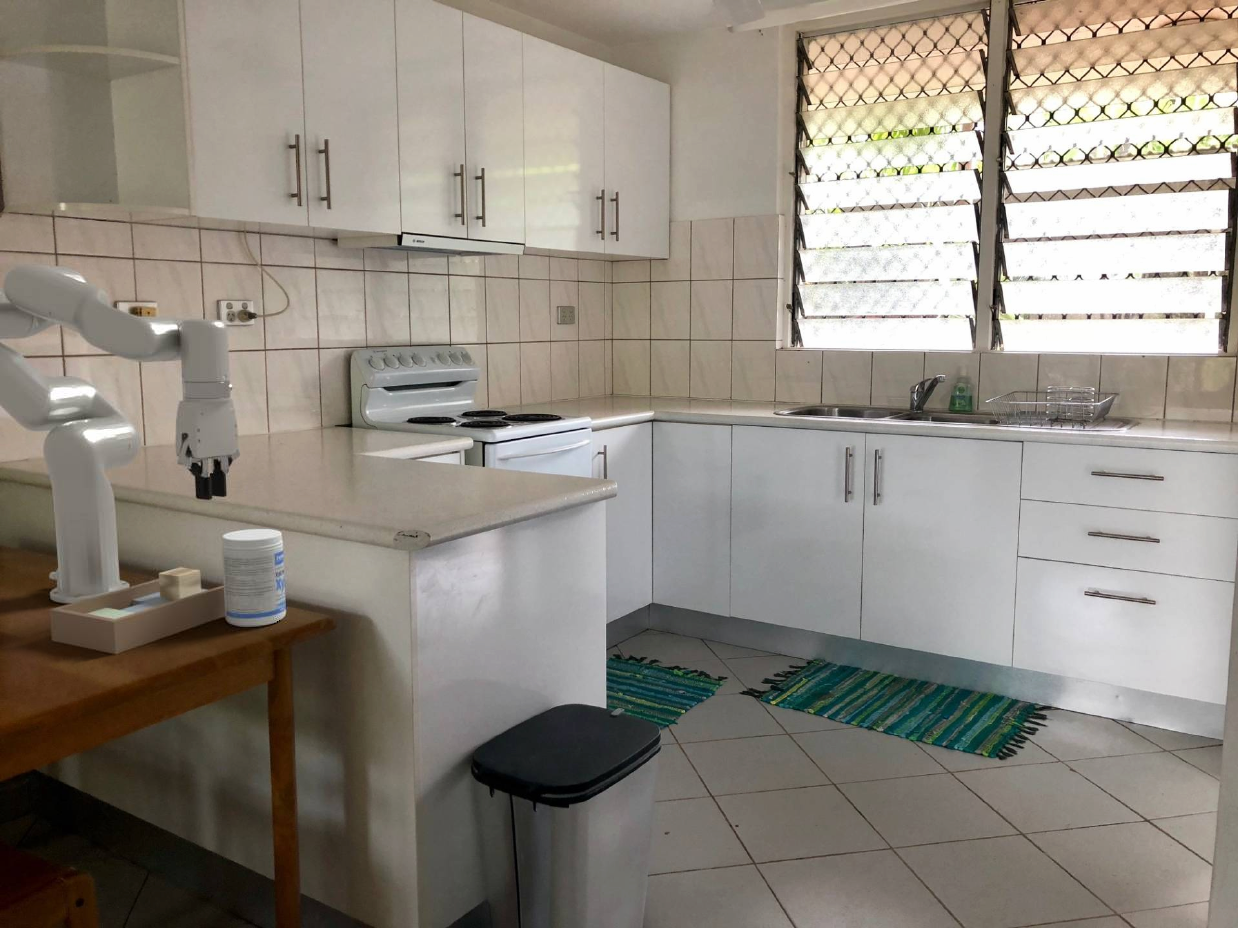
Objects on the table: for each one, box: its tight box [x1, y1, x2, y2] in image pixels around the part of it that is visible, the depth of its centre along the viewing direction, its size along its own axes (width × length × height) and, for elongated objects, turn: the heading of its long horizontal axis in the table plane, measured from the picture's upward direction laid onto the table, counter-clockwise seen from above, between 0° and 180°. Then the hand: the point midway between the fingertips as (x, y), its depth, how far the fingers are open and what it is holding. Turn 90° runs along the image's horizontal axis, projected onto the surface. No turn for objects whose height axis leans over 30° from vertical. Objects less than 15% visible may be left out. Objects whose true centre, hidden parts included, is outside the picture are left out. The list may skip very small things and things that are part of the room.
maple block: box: [158, 566, 202, 601], centre depth 163 cm, size 4×4×4 cm
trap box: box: [49, 578, 226, 655], centre depth 158 cm, size 14×24×5 cm, turn 156°
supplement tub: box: [221, 528, 287, 628], centre depth 161 cm, size 10×10×15 cm
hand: (211, 496), depth 168 cm, fingers open, 2 cm apart
